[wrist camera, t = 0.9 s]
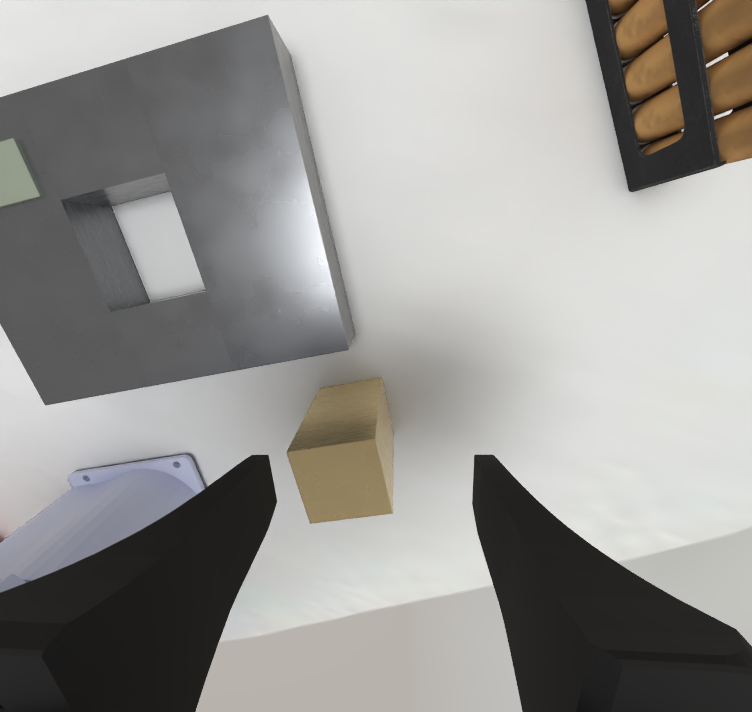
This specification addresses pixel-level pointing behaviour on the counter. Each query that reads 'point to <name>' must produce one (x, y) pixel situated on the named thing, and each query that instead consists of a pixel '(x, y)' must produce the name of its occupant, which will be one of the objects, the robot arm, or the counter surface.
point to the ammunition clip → (694, 84)
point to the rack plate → (196, 209)
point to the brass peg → (345, 453)
